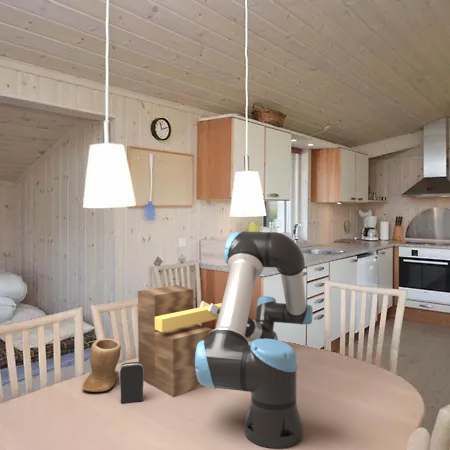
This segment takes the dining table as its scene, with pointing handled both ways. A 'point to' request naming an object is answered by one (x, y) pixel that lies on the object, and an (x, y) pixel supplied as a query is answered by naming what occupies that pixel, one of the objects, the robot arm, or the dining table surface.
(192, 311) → the bar
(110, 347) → the brown boot
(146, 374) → the step shelf
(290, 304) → the robot arm
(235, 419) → the dining table surface
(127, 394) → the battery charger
